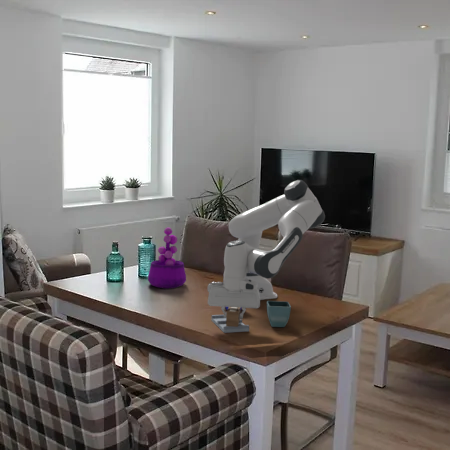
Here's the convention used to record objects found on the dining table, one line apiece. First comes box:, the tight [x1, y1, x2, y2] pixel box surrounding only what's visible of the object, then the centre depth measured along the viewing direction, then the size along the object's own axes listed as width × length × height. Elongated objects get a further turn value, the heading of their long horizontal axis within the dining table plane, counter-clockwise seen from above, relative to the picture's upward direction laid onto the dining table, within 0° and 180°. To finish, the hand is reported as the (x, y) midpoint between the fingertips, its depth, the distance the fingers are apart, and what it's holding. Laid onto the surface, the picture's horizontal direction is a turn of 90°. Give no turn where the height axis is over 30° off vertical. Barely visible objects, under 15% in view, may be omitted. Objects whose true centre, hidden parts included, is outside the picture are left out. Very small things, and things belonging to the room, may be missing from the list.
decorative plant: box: [147, 227, 187, 290], centre depth 305 cm, size 19×19×30 cm
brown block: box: [226, 307, 241, 327], centre depth 241 cm, size 9×4×6 cm, turn 174°
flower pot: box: [266, 300, 292, 328], centre depth 247 cm, size 9×9×9 cm
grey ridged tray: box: [210, 314, 250, 334], centre depth 245 cm, size 10×17×2 cm, turn 18°
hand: (233, 317), depth 241 cm, fingers closed on brown block, 4 cm apart
